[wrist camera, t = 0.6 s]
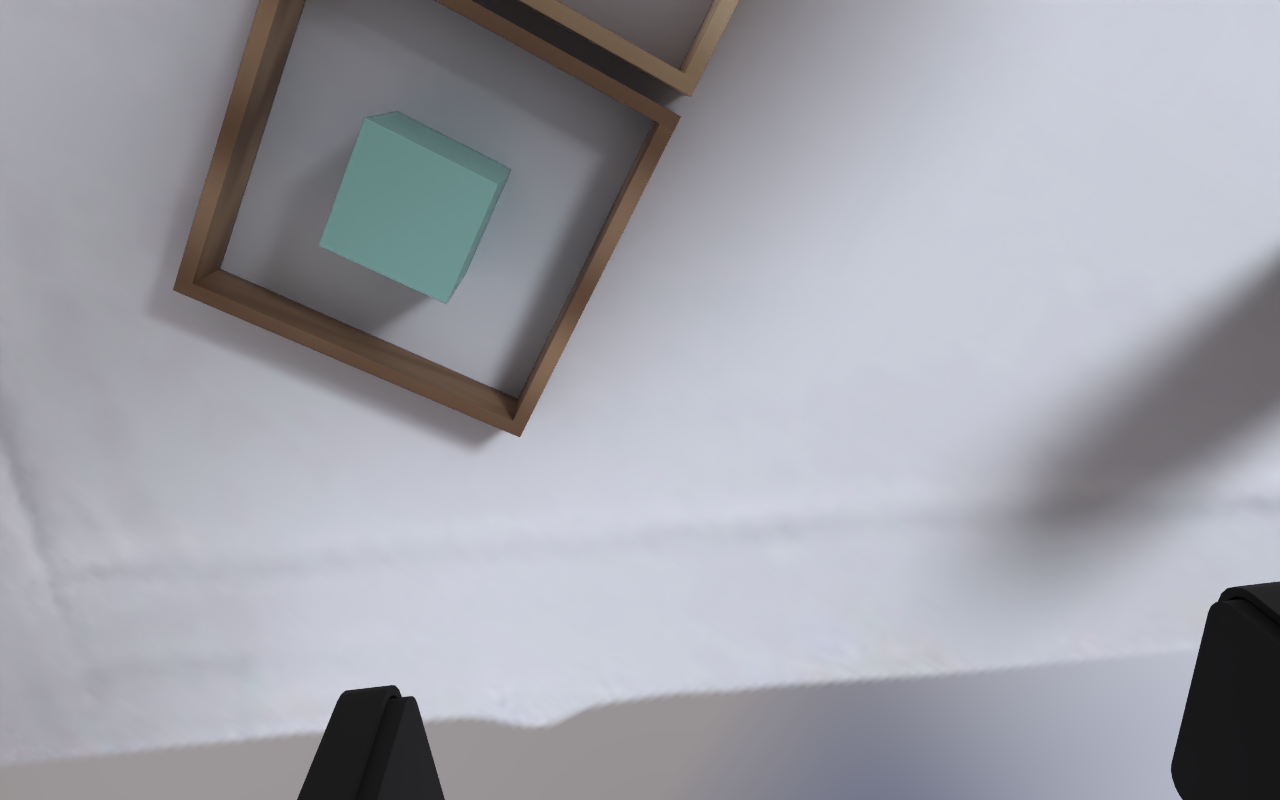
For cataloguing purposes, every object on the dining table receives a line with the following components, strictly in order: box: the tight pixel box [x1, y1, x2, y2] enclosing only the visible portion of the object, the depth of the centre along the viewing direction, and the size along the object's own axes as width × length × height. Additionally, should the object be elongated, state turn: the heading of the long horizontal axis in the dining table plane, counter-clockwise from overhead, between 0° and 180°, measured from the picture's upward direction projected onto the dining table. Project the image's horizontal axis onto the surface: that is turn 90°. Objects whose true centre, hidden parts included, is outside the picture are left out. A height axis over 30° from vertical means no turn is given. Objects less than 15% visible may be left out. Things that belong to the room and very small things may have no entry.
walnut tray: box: [173, 0, 681, 437], centre depth 31 cm, size 15×15×2 cm
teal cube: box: [319, 111, 511, 304], centre depth 30 cm, size 5×5×5 cm
